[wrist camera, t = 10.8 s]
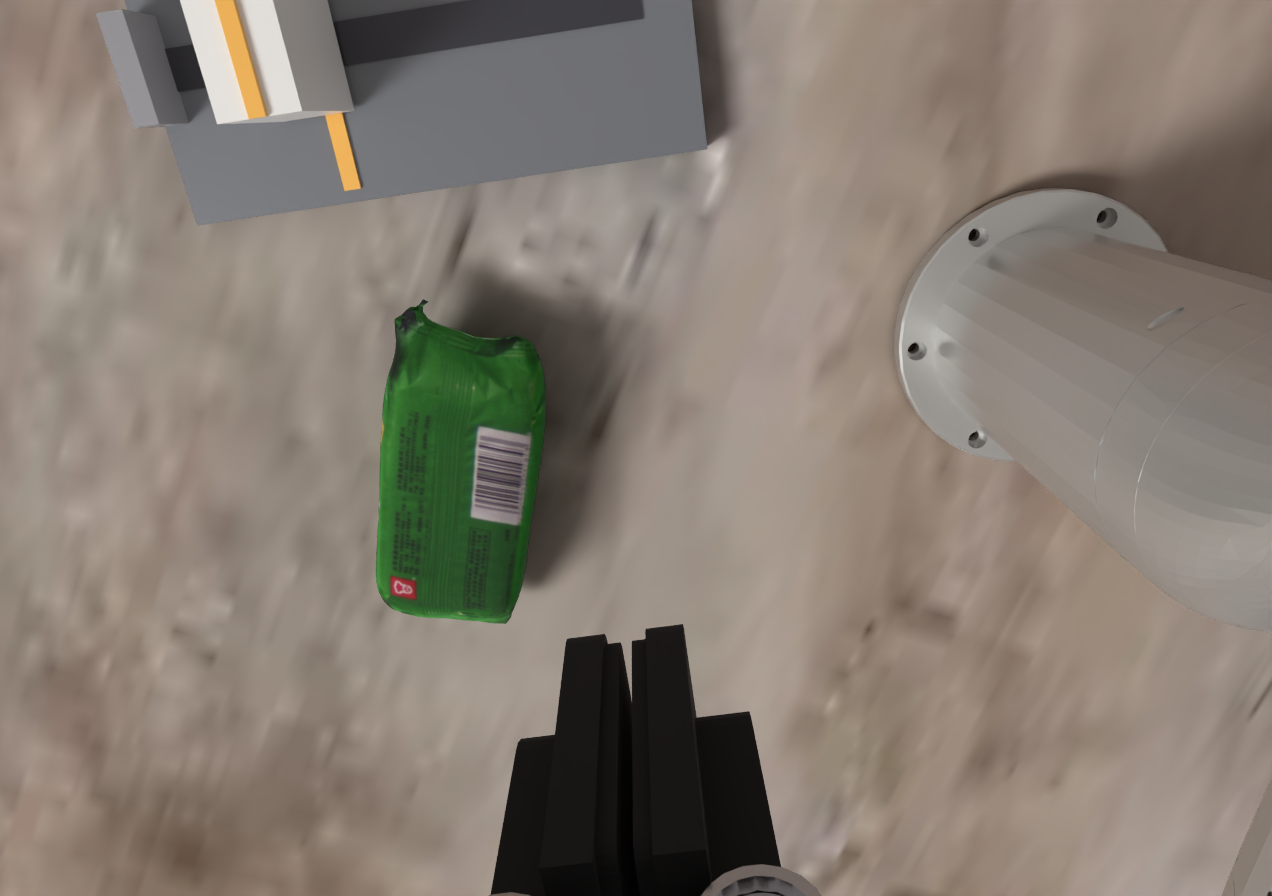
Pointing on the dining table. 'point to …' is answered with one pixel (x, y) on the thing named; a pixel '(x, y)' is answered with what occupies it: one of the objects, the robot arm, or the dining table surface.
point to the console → (426, 99)
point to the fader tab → (268, 59)
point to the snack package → (457, 470)
